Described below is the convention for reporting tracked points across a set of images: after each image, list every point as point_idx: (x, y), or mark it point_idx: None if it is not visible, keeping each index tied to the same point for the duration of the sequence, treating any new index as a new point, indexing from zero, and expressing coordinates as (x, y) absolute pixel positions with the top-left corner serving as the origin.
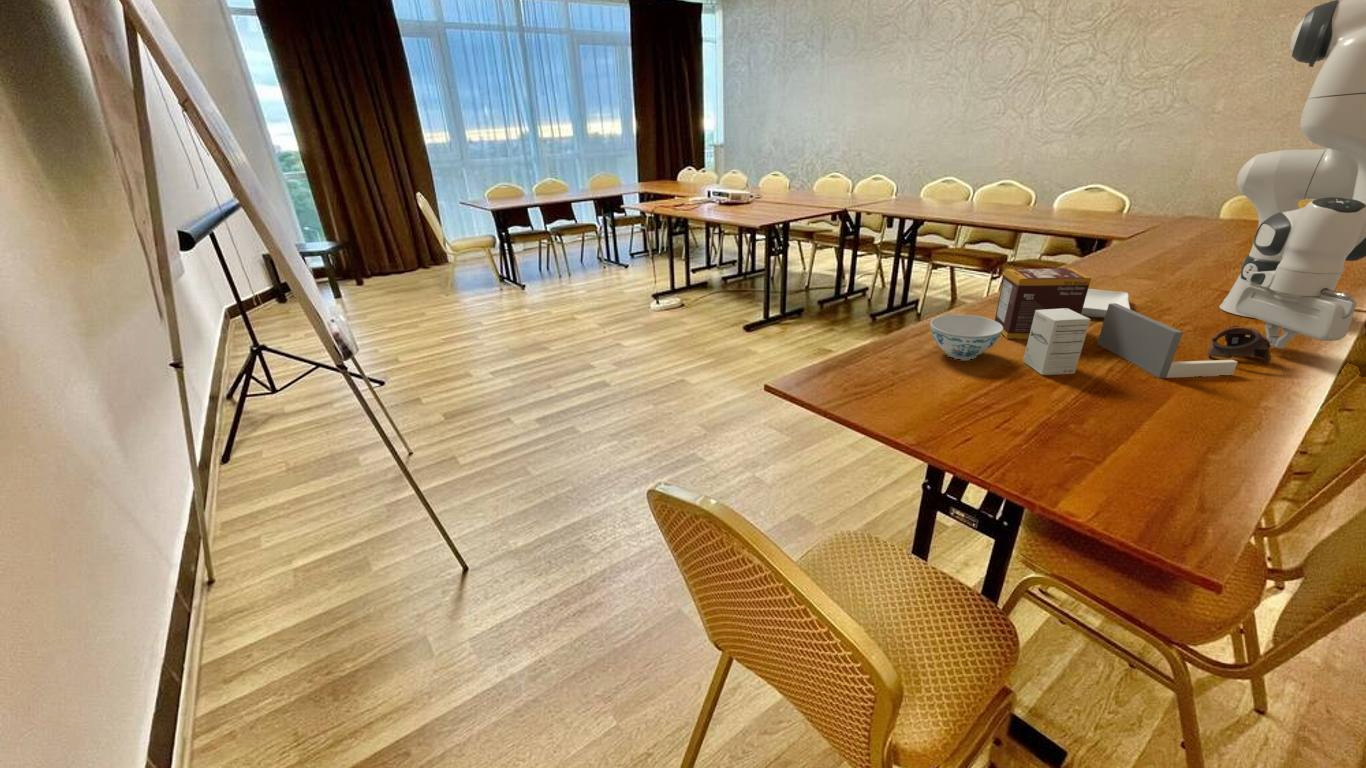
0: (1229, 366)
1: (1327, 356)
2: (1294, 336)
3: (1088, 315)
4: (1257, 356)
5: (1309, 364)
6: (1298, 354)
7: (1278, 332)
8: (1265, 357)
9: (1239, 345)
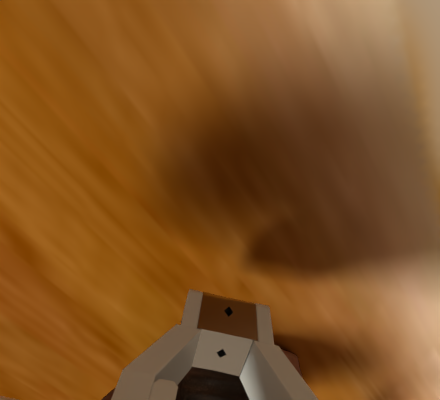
0: None
1: (360, 37)
2: (304, 384)
3: None
4: None
5: (373, 248)
6: (269, 158)
7: (184, 348)
8: None
9: None
